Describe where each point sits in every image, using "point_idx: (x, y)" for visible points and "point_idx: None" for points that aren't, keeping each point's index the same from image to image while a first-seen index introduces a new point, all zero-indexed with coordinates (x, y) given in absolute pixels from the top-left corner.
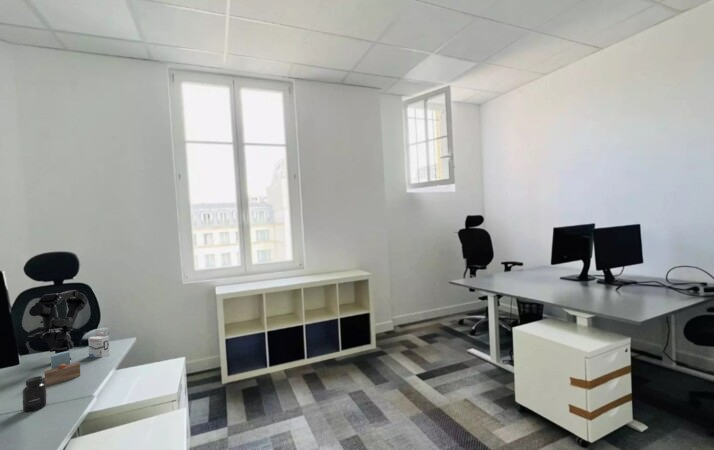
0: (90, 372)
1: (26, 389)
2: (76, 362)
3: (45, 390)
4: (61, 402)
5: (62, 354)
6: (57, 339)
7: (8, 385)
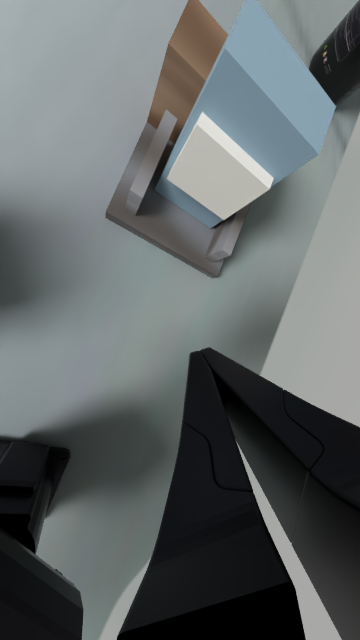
0: (95, 96)
1: None
2: (179, 49)
3: None
4: (296, 10)
5: (283, 51)
6: (187, 423)
7: (259, 365)
